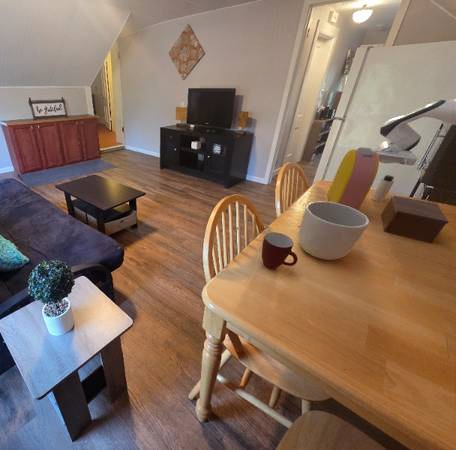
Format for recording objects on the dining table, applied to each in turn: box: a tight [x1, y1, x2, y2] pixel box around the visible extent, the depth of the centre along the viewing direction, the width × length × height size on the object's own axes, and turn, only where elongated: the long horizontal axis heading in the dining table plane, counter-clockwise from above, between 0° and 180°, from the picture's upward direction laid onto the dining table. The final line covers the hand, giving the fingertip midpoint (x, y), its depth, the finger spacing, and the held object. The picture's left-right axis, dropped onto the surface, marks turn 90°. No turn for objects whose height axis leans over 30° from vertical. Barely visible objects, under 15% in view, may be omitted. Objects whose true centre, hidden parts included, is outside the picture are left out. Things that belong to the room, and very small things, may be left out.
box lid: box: [390, 195, 449, 225], centre depth 93 cm, size 16×14×1 cm
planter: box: [298, 200, 370, 261], centre depth 81 cm, size 17×17×15 cm
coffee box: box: [380, 197, 446, 244], centre depth 96 cm, size 16×14×9 cm
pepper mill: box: [370, 174, 395, 203], centre depth 117 cm, size 5×5×12 cm
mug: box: [261, 231, 299, 270], centre depth 75 cm, size 11×8×10 cm
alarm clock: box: [327, 146, 380, 211], centre depth 108 cm, size 21×9×26 cm, turn 154°
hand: (390, 161), depth 120 cm, fingers open, 8 cm apart
